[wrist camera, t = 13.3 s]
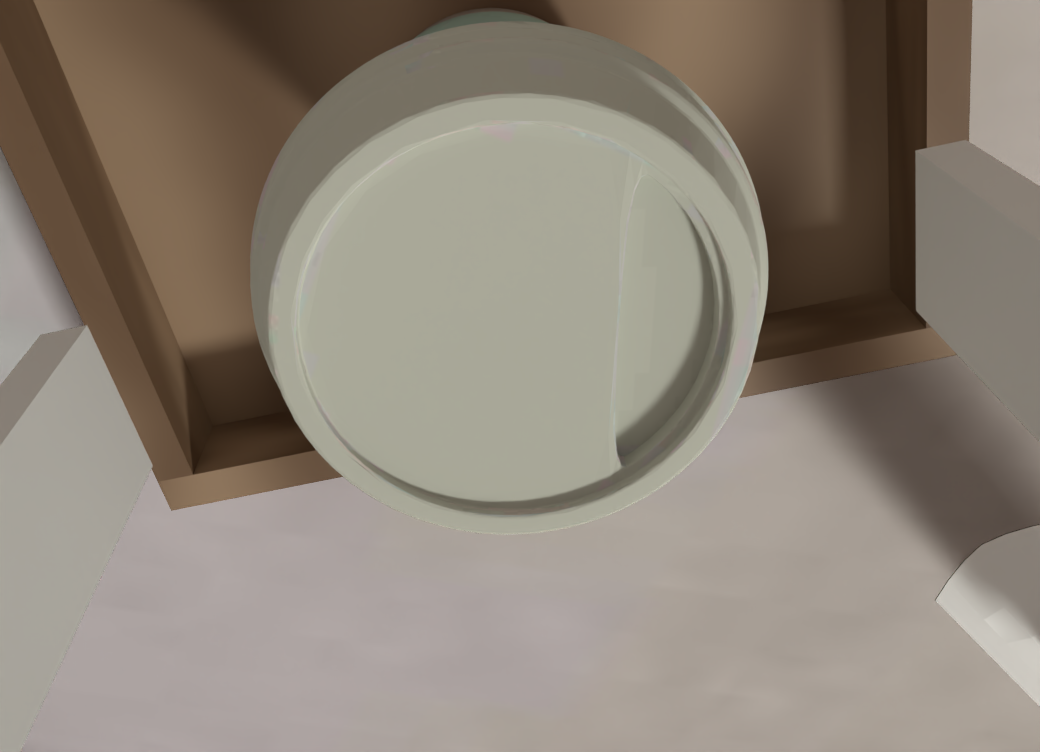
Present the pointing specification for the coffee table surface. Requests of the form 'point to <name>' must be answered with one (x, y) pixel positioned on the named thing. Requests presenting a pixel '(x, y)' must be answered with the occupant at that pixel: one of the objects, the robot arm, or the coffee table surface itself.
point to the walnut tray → (358, 39)
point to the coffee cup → (509, 275)
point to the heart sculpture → (1002, 603)
